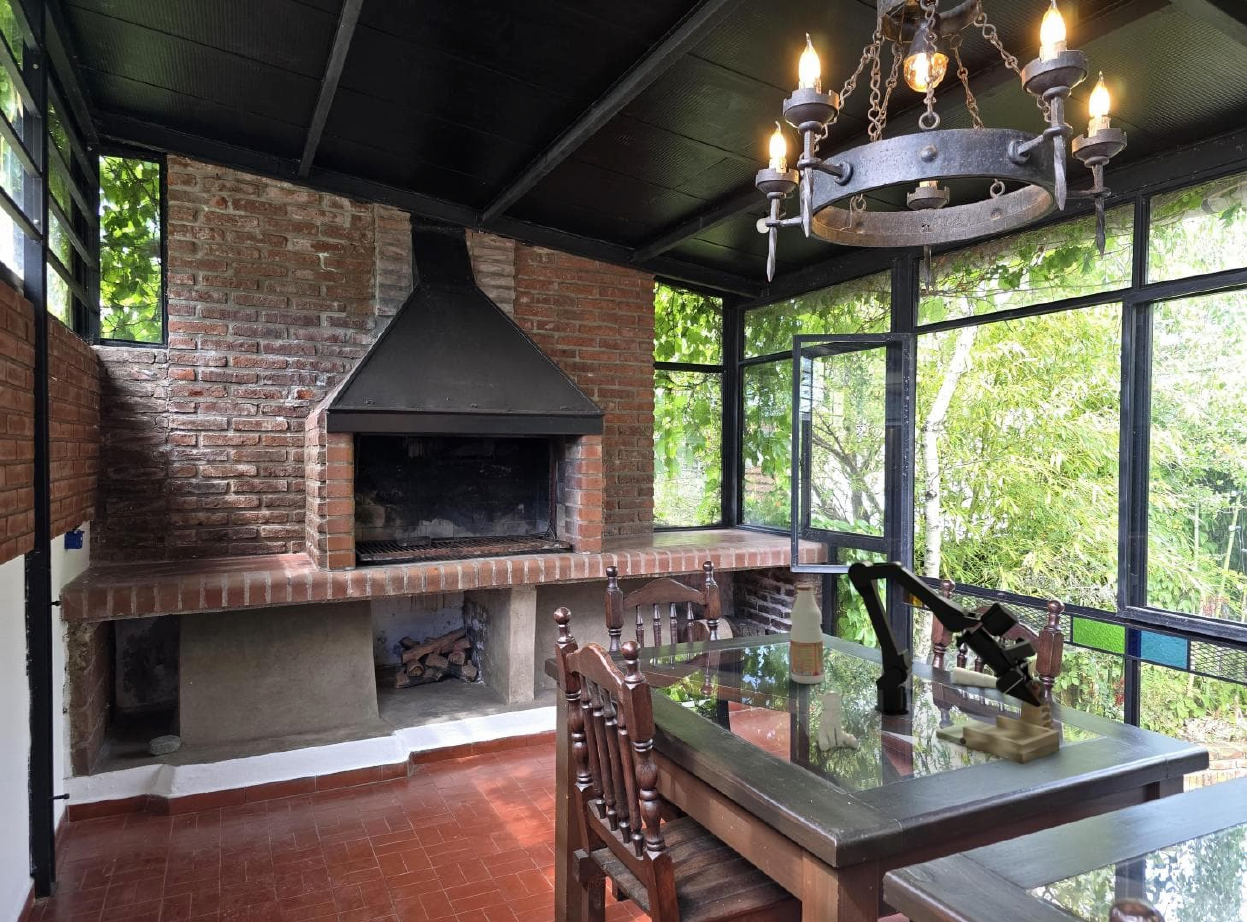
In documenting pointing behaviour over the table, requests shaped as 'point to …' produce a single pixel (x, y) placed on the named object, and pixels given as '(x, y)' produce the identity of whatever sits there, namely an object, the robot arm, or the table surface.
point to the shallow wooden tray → (1004, 738)
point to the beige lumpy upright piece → (833, 724)
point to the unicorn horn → (972, 678)
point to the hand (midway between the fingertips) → (1040, 700)
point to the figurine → (1037, 714)
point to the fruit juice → (806, 638)
